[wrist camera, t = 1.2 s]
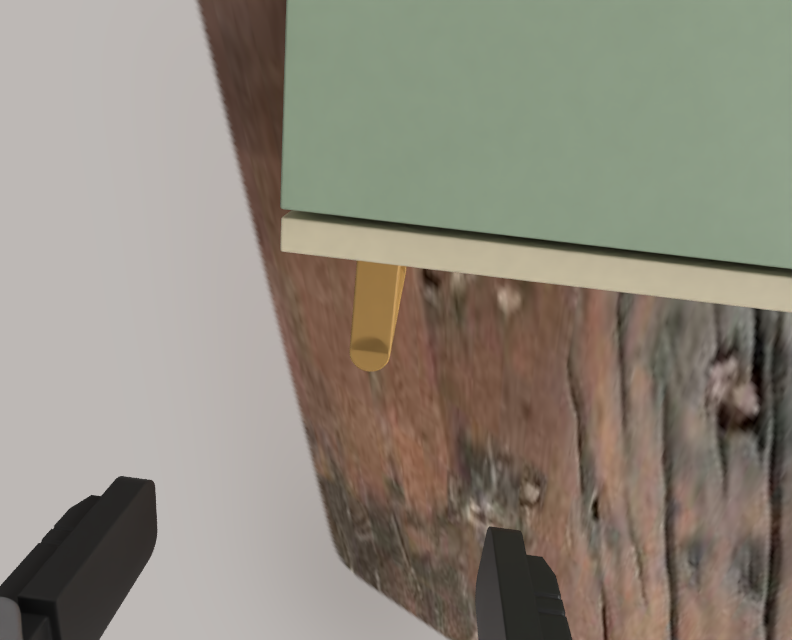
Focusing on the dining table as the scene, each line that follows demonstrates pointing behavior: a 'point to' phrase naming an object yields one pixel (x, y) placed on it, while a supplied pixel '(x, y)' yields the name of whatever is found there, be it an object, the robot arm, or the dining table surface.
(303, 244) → the cupboard door
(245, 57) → the dining table surface
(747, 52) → the cupboard
